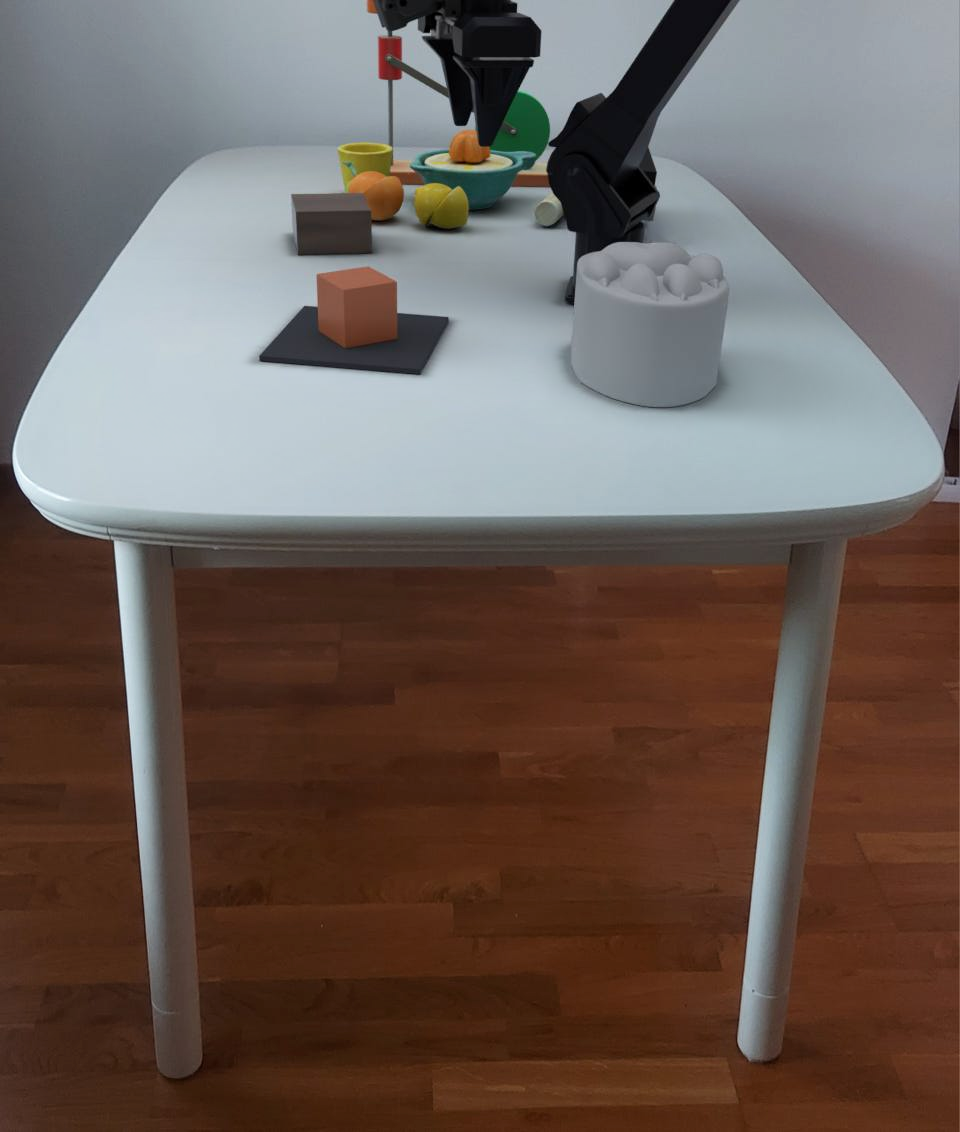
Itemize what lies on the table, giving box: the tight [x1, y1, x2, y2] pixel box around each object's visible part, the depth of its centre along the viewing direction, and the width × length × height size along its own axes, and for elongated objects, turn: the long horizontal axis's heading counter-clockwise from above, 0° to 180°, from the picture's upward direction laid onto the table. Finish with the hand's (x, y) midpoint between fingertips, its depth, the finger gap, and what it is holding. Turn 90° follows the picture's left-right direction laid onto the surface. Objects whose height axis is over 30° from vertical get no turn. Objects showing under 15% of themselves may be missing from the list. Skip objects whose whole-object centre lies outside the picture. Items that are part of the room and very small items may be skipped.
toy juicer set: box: [337, 129, 564, 230], centre depth 124 cm, size 29×18×8 cm, turn 93°
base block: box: [290, 192, 373, 256], centre depth 113 cm, size 7×7×4 cm
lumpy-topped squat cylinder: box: [570, 242, 730, 408], centre depth 84 cm, size 10×13×9 cm
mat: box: [258, 305, 450, 375], centre depth 90 cm, size 12×12×1 cm
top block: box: [315, 266, 398, 348], centre depth 89 cm, size 4×4×4 cm
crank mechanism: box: [365, 0, 551, 188], centre depth 135 cm, size 25×7×19 cm, turn 93°
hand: (472, 135), depth 100 cm, fingers open, 9 cm apart
